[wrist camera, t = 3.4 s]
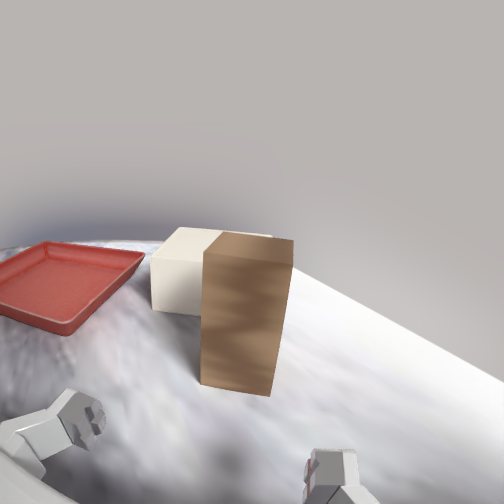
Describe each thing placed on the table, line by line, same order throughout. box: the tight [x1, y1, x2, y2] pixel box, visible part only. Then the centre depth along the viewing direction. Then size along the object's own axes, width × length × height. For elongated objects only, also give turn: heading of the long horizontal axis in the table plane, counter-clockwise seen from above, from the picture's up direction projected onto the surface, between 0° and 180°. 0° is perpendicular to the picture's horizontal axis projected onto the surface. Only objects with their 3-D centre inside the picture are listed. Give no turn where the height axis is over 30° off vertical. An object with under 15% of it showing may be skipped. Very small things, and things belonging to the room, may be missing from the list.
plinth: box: [150, 227, 272, 316], centre depth 34 cm, size 12×12×6 cm
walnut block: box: [200, 231, 293, 397], centre depth 20 cm, size 5×5×10 cm
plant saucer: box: [0, 241, 146, 336], centre depth 29 cm, size 18×18×3 cm
